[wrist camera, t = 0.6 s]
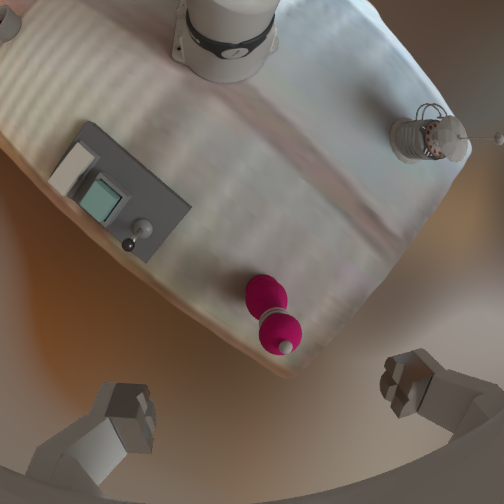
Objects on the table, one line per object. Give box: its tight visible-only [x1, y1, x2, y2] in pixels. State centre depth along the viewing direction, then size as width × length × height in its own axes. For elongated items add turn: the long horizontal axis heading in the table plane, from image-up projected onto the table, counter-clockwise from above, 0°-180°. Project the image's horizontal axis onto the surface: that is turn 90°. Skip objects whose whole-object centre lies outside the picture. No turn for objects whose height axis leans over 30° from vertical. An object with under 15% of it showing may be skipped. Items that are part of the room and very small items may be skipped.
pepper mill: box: [246, 275, 302, 355], centre depth 45 cm, size 7×7×20 cm
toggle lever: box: [122, 228, 144, 252], centre depth 43 cm, size 2×2×6 cm
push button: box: [80, 180, 121, 222], centre depth 40 cm, size 4×4×3 cm
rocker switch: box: [48, 142, 95, 196], centre depth 40 cm, size 4×8×2 cm, turn 137°
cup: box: [0, 5, 21, 46], centre depth 28 cm, size 11×8×8 cm
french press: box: [390, 103, 504, 164], centre depth 38 cm, size 10×12×25 cm
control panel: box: [50, 121, 192, 263], centre depth 44 cm, size 24×12×6 cm, turn 47°
